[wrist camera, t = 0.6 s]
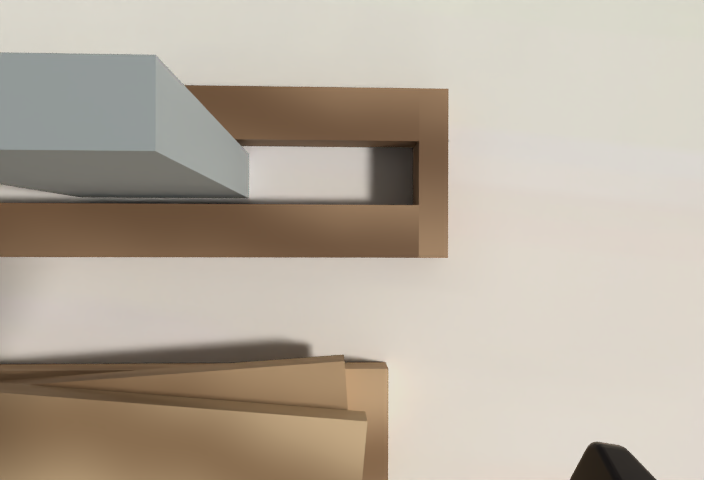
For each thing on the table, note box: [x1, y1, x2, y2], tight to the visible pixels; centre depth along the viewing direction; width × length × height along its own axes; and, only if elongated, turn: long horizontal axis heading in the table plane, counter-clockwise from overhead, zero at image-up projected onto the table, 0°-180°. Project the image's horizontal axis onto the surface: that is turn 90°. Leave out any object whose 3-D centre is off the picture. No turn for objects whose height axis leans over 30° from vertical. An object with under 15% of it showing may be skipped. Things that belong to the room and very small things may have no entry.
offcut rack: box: [0, 85, 448, 480], centre depth 20 cm, size 14×20×3 cm
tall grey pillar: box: [0, 53, 249, 198], centre depth 16 cm, size 2×6×12 cm, turn 90°
